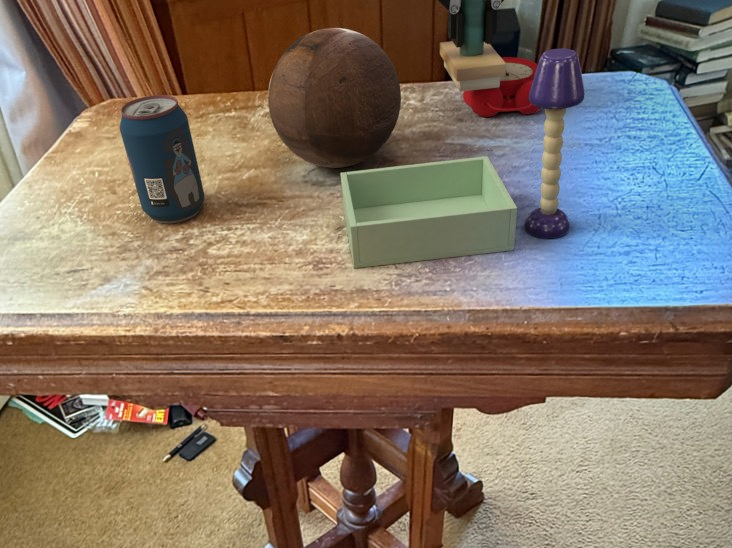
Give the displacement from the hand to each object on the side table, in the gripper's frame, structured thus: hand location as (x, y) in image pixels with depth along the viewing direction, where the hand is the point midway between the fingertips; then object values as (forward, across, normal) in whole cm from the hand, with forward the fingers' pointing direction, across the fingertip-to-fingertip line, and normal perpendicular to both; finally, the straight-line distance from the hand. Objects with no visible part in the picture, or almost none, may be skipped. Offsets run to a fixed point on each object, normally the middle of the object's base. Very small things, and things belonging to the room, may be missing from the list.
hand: (471, 41), depth 90 cm
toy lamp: (+9, 0, -32) cm, 33 cm away
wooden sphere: (+9, -18, -12) cm, 24 cm away
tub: (+9, -11, -30) cm, 33 cm away
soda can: (+9, -37, -20) cm, 43 cm away
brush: (+4, 0, 0) cm, 4 cm away
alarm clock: (+9, +5, 0) cm, 10 cm away
